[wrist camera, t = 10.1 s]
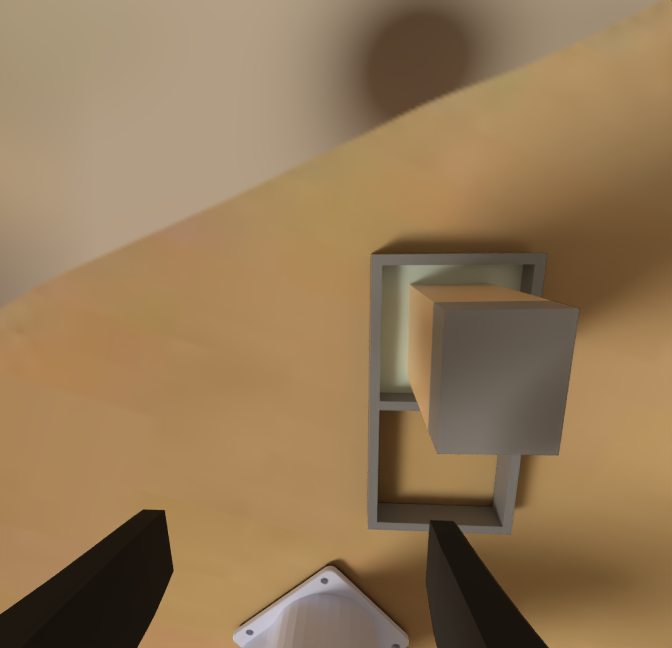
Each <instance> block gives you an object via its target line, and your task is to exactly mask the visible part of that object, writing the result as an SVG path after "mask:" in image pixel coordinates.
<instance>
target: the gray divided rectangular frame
mask: <svg viewBox="0 0 672 648" xmlns="http://www.w3.org/2000/svg"><path fill="white" fill-rule="evenodd" d="M546 261H547V253H419V254H371V265H370V340H369V416H368V491H367V515H368V529H377V530H403V531H429V523H430V520H444V521H454V522H455V523H456V524H457V525H458V527H459V528H460V530H461V531H462V533H480V534H506V535H511V530H512V522H513V514H514V507H515V499H516V491H517V484H518V476H519V468H520V461H521V455H498V459H497V468H496V477H495V486H494V494H493V503H492V507H486V506H457V505H428V504H399V503H377V498H378V451H379V410H397V411H420V408H419V406H418V403H417V401H416V398H415V395H414V393H413V390H412V388H411V385H410V383H409V380H408V377H407V361H408V322H409V284H465V283H491V284H495V285H498V286H502V287H505V288H509V289H512V290H516V291H520V292H523V293H527V294H530V295H534V296H537V297H541V298H542V292H543V284H544V276H545V269H546Z"/></svg>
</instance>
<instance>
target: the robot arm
mask: <svg viewBox="0 0 672 648" xmlns="http://www.w3.org/2000/svg"><path fill="white" fill-rule="evenodd" d="M173 571H174V570H173V563H172V556H171V549H170V543H169V536H168V529H167V522H166V516H165V510H144V509H143V510H142V511H141V512H139V513H138V514H136V515H135V516H134V517H132V518H131V519H129V520H128V521H127V522H125V523H124V524H123V525H121V526H120V527H119V528H117V529H116V530H115V531H113V532H112V533H111V534H109V535H108V536H107V537H106V538H104V539H103V540H102V541H100V542H99V543H98V544H96V545H95V546H94V547H92V548H91V549H90V550H88V551H87V552H86V553H84V554H83V555H82V556H80V557H79V558H78V559H76V560H75V561H74V562H72V563H71V564H70V565H68V566H67V567H66V568H64V569H63V570H62V571H60V572H59V573H58V574H56V575H55V576H54V577H52V578H51V579H50V580H48V581H47V582H45V583H44V584H43V585H41V586H40V587H38V588H37V589H36V590H34V591H33V592H31V593H30V594H28V595H27V596H26V597H24V598H23V599H21V600H20V601H19V602H17V603H16V604H14V605H13V606H12V607H10V608H9V609H7V610H6V611H4V612H3V613H2V614H0V648H137V647H138V645H139V643H140V642H141V640H142V638H143V636H144V634H145V632H146V631H147V629H148V627H149V625H150V623H151V621H152V619H153V617H154V615H155V613H156V611H157V609H158V606H159V604H160V602H161V600H162V597H163V595H164V593H165V590H166V588H167V585H168V583H169V580H170V578H171V576H172V573H173ZM426 587H427V594H428V600H429V607H430V613H431V619H432V625H433V632H434V636H435V640H436V644H437V648H549V647H548V646H547V645H546V644H545V643H544V641H543V640H542V639H541V638H540V636H539V635H538V634H537V633H536V632H535V630H534V629H533V628H532V627H531V625H530V624H529V623H528V622H527V620H526V619H525V618H524V617H523V615H522V614H521V613H520V612H519V610H518V609H517V608H516V606H515V605H514V604H513V602H512V601H511V600H510V598H509V597H508V596H507V594H506V593H505V592H504V591H503V589H502V588H501V587H500V585H499V584H498V583H497V581H496V580H495V579H494V577H493V576H492V574H491V573H490V572H489V570H488V569H487V568H486V566H485V565H484V563H483V562H482V561H481V559H480V558H479V556H478V555H477V553H476V552H475V551H474V549H473V548H472V546H471V545H470V543H469V542H468V540H467V539H466V537H465V536H464V534H463V533H462V531H461V530H460V528H459V527H458V525H457V524H456V523H455V522H454V521H444V520H430V523H429V539H428V555H427V571H426ZM233 640H234V641H235V643H237V644H238V645H239V646H240V647H241V648H406V647H407V646H408V645H409V639H408V635H407V634H406V633H405V632H404V631H403V630H402V629H401V628H400V627H399V626H398V625H397V624H396V623H394V622H393V621H392V620H391V619H390V618H389V617H388V616H387V615H386V614H385V613H384V612H383V611H382V610H381V609H379V608H378V607H377V606H376V605H375V604H374V603H373V602H372V601H371V600H370V599H369V598H368V597H367V596H366V595H365V594H363V593H362V592H361V591H360V590H359V589H358V588H357V587H356V586H355V585H354V584H353V583H352V582H351V581H350V580H348V579H347V578H346V577H345V576H344V575H343V574H342V573H341V572H340V571H339V570H338V569H337V568H335V567H334V566H327V567H325V568H324V569H322V570H321V571H319V572H318V573H316V574H315V575H314V576H312V577H311V578H309V579H308V580H306V581H305V582H304V583H302V584H301V585H299V586H298V587H296V588H295V589H293V590H292V591H291V592H289V593H288V594H286V595H285V596H283V597H282V598H281V599H279V600H278V601H276V602H275V603H273V604H272V605H270V606H269V607H268V608H266V609H265V610H263V611H262V612H260V613H259V614H258V615H256V616H255V617H253V618H252V619H250V620H249V621H248V622H246V623H245V624H243V625H242V626H240V627H239V628H237V629H236V630H235V632H234V635H233Z"/></svg>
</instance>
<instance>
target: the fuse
mask: <svg viewBox="0 0 672 648" xmlns="http://www.w3.org/2000/svg"><path fill="white" fill-rule="evenodd" d="M578 316H579V308H576V307H572V306H569V305H565V304H562V303H558V302H555V301H551V300H548V299H544V298H541V297H537V296H534V295H530V294H527V293H523V292H520V291H516V290H512V289H509V288H505V287H502V286H498V285H495V284H491V283H465V284H409V322H408V361H407V377H408V380H409V383H410V385H411V388H412V390H413V393H414V395H415V398H416V401H417V403H418V406H419V408H420V411H421V413H422V416H423V418H424V421H425V424H426V426H427V429H428V431H429V434H430V436H431V439H432V442H433V444H434V447H435V449H436V452H437V454H484V455H559V450H560V443H561V436H562V429H563V422H564V415H565V408H566V401H567V394H568V387H569V380H570V373H571V365H572V358H573V351H574V344H575V337H576V330H577V323H578Z"/></svg>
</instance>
